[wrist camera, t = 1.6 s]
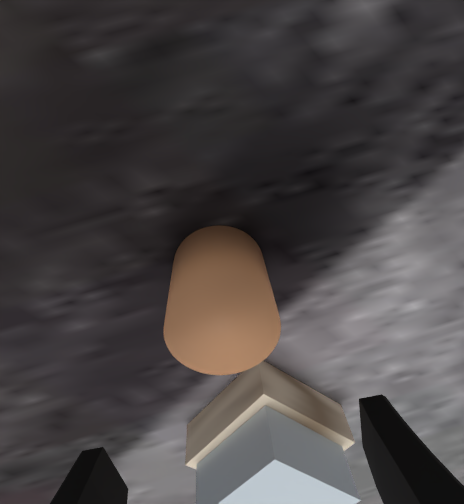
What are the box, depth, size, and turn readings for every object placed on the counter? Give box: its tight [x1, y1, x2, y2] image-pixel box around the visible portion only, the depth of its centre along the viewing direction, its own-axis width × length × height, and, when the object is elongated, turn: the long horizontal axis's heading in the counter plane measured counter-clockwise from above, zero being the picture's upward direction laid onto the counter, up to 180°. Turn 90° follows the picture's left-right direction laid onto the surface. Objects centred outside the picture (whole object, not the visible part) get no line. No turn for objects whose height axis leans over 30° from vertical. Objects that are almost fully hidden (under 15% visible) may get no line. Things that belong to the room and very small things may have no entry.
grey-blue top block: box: [196, 405, 361, 504], centre depth 21 cm, size 6×6×3 cm
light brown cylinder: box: [164, 225, 281, 375], centre depth 17 cm, size 4×4×5 cm
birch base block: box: [185, 361, 355, 470], centre depth 23 cm, size 7×7×3 cm
